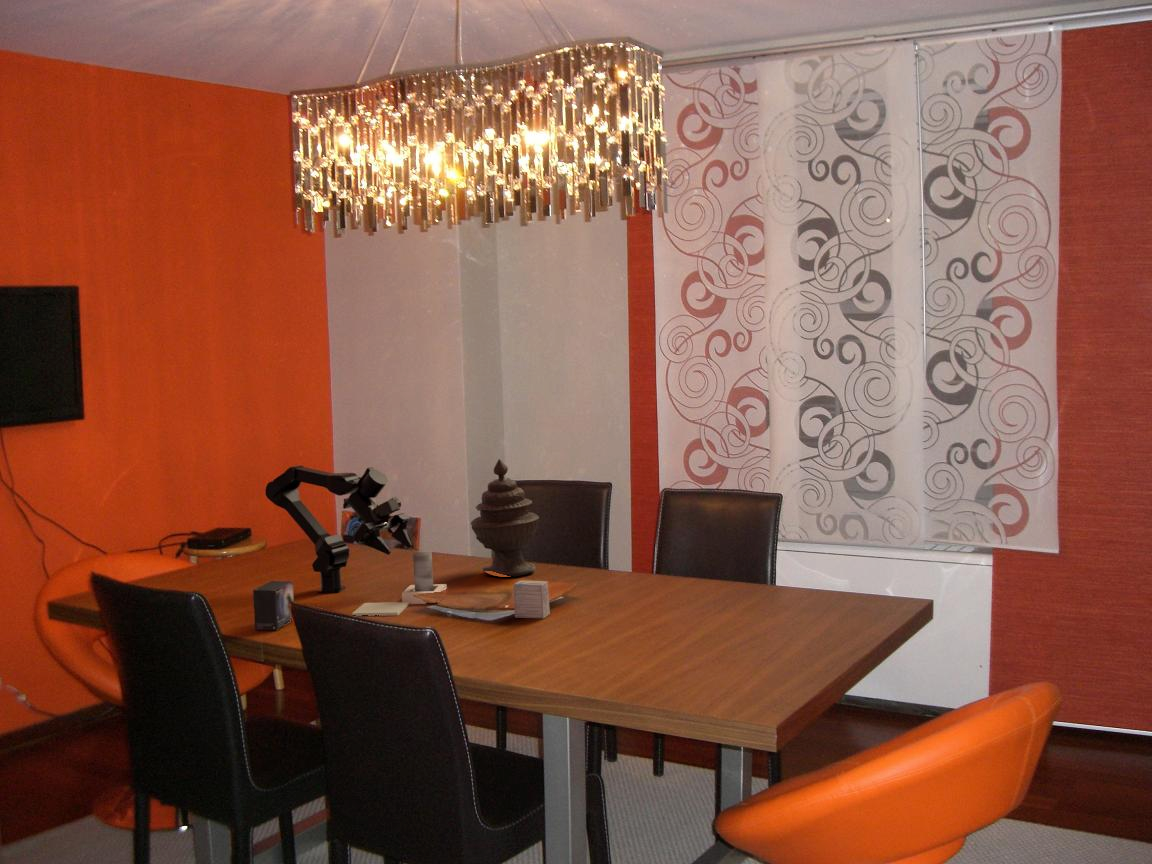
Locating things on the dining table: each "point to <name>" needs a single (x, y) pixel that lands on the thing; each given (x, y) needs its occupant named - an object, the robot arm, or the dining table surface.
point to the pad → (381, 609)
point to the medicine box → (531, 599)
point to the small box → (272, 605)
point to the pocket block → (410, 591)
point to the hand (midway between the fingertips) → (400, 550)
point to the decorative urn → (505, 524)
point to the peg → (423, 571)
